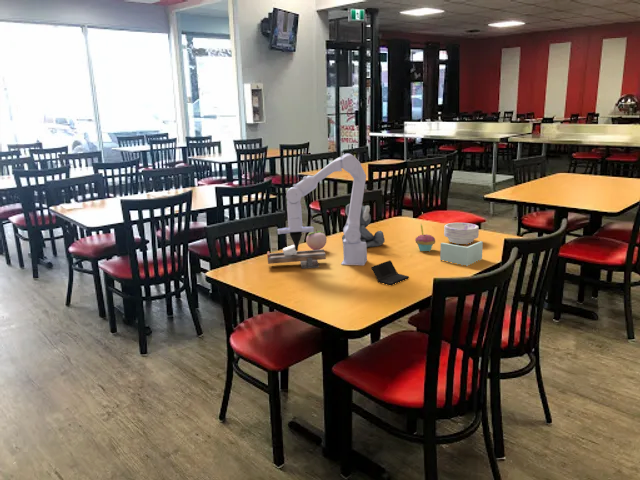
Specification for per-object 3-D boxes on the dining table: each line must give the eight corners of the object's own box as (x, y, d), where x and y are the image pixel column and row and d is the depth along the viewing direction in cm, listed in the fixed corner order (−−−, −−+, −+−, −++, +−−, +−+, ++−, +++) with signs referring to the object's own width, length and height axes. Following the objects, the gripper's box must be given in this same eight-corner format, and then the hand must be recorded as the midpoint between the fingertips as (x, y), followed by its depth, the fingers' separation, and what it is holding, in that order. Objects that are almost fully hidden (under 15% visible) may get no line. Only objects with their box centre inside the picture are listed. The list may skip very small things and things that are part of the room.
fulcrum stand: (316, 260, 216) (316, 251, 215) (319, 267, 206) (318, 258, 205) (300, 261, 216) (299, 252, 215) (301, 268, 206) (301, 259, 205)
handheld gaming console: (395, 282, 181) (382, 258, 183) (381, 291, 185) (368, 267, 187) (411, 278, 190) (398, 254, 192) (397, 287, 194) (384, 264, 196)
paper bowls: (482, 240, 238) (482, 223, 236) (472, 248, 226) (473, 230, 224) (450, 237, 246) (450, 220, 244) (439, 244, 234) (439, 227, 232)
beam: (324, 254, 214) (323, 246, 214) (325, 259, 207) (325, 250, 207) (268, 258, 213) (267, 250, 212) (268, 263, 206) (267, 255, 205)
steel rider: (296, 251, 212) (294, 244, 211) (297, 253, 207) (294, 247, 206) (285, 255, 212) (282, 248, 211) (285, 257, 207) (283, 251, 206)
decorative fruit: (315, 255, 224) (314, 232, 222) (303, 251, 230) (302, 230, 228) (331, 250, 230) (330, 229, 228) (319, 247, 236) (318, 226, 234)
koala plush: (387, 245, 236) (387, 203, 231) (356, 252, 226) (355, 208, 221) (363, 238, 250) (362, 198, 245) (333, 245, 240) (332, 203, 235)
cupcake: (413, 252, 222) (413, 225, 220) (417, 247, 230) (417, 221, 227) (433, 253, 219) (433, 226, 216) (436, 248, 227) (437, 222, 224)
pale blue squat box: (482, 259, 209) (482, 241, 207) (467, 266, 201) (467, 247, 199) (455, 254, 217) (456, 237, 215) (440, 261, 209) (440, 243, 207)
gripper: (312, 214, 210) (313, 246, 214) (276, 216, 209) (278, 248, 212) (313, 217, 203) (315, 250, 207) (276, 220, 202) (278, 253, 206)
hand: (296, 250), depth 209 cm, fingers closed, pressing on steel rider
